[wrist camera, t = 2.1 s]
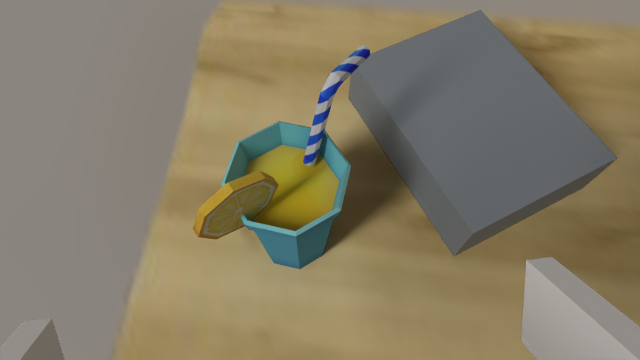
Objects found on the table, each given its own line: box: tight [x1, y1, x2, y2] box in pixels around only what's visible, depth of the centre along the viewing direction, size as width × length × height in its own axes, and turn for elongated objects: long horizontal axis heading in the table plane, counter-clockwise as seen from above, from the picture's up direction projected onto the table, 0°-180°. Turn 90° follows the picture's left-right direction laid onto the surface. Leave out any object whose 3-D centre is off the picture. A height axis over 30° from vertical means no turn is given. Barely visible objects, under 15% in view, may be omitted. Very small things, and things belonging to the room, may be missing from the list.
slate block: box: [349, 10, 617, 256], centre depth 39 cm, size 13×17×5 cm
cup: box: [193, 46, 370, 269], centre depth 31 cm, size 14×8×15 cm, turn 144°
